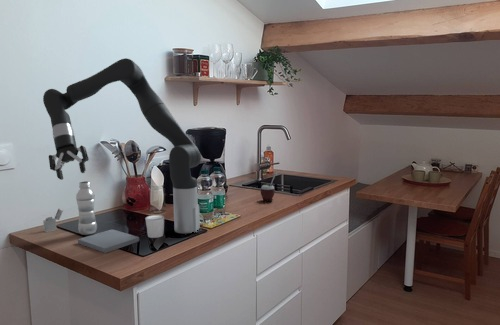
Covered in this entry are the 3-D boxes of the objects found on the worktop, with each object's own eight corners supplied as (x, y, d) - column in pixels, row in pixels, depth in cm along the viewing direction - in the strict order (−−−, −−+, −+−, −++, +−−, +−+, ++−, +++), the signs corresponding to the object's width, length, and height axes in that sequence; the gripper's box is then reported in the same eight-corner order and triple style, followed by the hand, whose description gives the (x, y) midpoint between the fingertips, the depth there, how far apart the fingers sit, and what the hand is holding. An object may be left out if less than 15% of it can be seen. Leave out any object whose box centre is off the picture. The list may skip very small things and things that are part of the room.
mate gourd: (257, 200, 204) (257, 171, 202) (269, 198, 209) (270, 169, 207) (267, 203, 198) (267, 173, 196) (279, 201, 203) (279, 171, 201)
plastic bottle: (91, 237, 149) (87, 184, 146) (74, 236, 151) (71, 183, 148) (100, 232, 156) (97, 180, 153) (85, 230, 157) (81, 180, 154)
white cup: (157, 231, 156) (156, 213, 155) (168, 234, 152) (168, 216, 151) (142, 235, 151) (141, 217, 150) (153, 239, 147) (153, 220, 146)
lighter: (45, 232, 156) (43, 212, 155) (43, 231, 157) (42, 211, 156) (64, 228, 161) (63, 208, 159) (63, 227, 162) (61, 207, 161)
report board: (139, 241, 145) (139, 237, 145) (105, 252, 134) (105, 248, 134) (112, 232, 154) (111, 229, 154) (78, 243, 143) (77, 239, 143)
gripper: (85, 134, 163) (93, 172, 160) (51, 145, 163) (58, 183, 159) (77, 129, 156) (85, 168, 152) (41, 139, 155) (49, 179, 152)
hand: (72, 175), depth 156 cm, fingers open, 8 cm apart
